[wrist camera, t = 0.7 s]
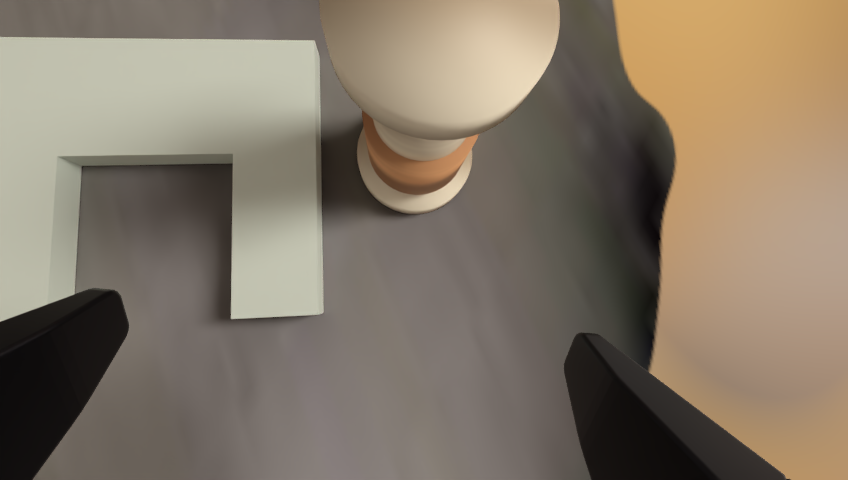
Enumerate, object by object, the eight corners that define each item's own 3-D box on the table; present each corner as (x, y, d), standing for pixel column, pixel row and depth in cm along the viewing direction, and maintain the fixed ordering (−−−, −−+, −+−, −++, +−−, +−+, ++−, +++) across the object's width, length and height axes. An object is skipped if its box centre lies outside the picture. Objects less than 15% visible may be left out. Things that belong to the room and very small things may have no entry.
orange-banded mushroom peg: (470, 212, 22) (569, 121, 10) (360, 215, 21) (321, 123, 9) (464, 108, 22) (549, -98, 10) (357, 108, 22) (317, -108, 10)
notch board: (323, 312, 20) (318, 314, 19) (-18, 329, 19) (-53, 333, 17) (319, 57, 22) (314, 40, 20) (5, 55, 20) (-25, 37, 19)
